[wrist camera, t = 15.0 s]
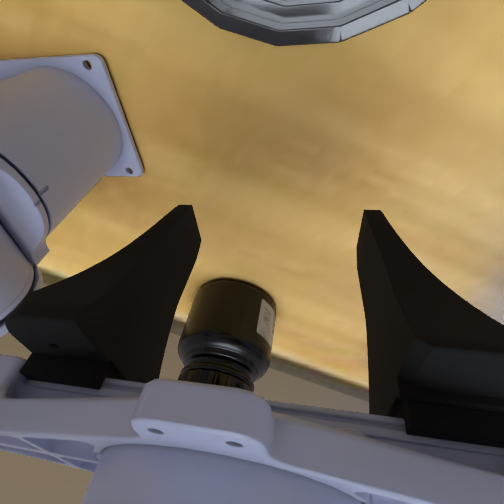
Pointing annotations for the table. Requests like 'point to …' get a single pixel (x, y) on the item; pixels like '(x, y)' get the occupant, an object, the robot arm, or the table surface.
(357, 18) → the pan
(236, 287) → the ink bottle
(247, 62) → the table surface
